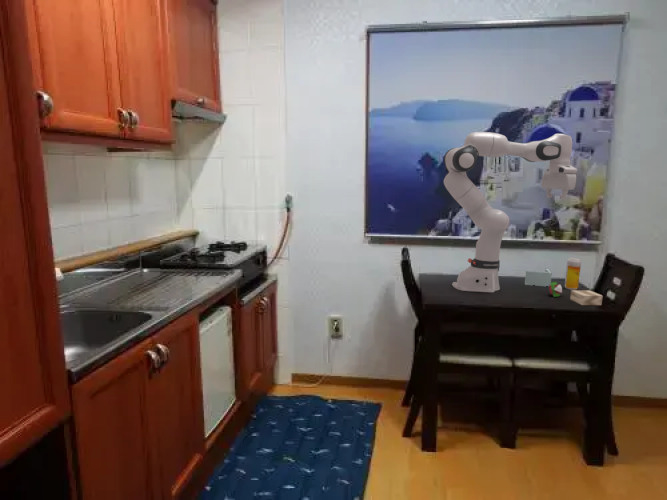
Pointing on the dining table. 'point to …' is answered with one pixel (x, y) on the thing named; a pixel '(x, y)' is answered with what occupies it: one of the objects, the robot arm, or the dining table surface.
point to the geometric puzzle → (555, 289)
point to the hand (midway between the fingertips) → (555, 198)
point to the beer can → (572, 273)
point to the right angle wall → (538, 278)
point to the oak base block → (586, 297)
